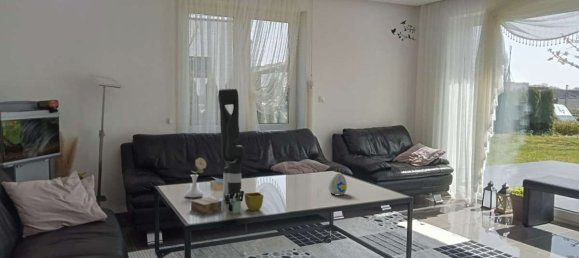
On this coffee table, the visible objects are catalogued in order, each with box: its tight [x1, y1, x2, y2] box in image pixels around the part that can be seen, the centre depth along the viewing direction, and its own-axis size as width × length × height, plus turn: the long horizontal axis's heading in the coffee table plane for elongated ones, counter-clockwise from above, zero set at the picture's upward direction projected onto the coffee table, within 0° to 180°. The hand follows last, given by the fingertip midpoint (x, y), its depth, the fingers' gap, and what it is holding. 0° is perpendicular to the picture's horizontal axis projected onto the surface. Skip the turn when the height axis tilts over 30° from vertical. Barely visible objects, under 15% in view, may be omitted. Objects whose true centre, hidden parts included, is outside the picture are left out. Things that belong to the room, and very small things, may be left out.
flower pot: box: [243, 191, 264, 212], centre depth 252 cm, size 9×9×9 cm
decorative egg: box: [328, 172, 348, 195], centre depth 296 cm, size 12×12×15 cm
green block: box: [227, 200, 242, 214], centre depth 246 cm, size 5×5×6 cm
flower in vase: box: [184, 157, 207, 198], centre depth 277 cm, size 13×11×25 cm
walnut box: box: [190, 196, 222, 216], centre depth 247 cm, size 12×12×6 cm
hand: (234, 210), depth 246 cm, fingers closed on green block, 5 cm apart
